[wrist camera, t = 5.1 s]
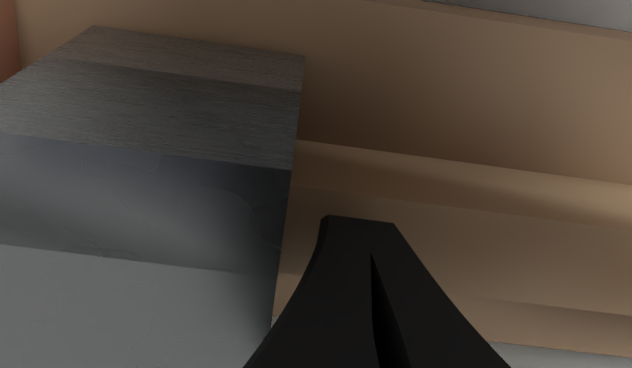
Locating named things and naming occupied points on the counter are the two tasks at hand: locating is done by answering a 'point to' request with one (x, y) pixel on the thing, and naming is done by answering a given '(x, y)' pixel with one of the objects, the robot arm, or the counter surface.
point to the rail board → (435, 144)
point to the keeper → (143, 201)
